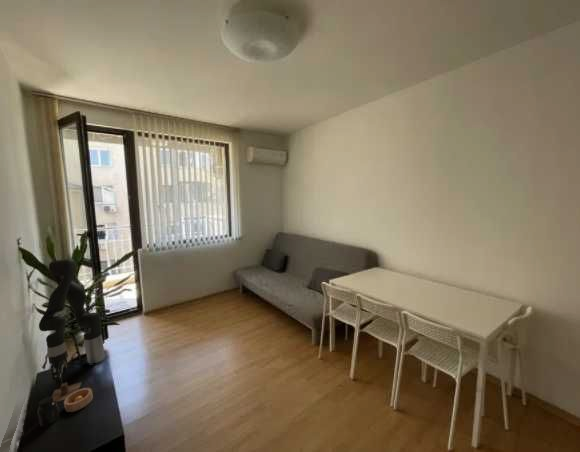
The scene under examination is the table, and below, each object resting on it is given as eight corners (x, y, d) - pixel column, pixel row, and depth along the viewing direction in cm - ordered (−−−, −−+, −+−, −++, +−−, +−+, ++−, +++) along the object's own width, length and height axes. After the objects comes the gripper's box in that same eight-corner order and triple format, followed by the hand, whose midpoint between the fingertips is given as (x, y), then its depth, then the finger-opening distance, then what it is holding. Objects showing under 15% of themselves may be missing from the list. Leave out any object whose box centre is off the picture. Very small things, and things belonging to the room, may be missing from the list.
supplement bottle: (56, 414, 126) (52, 392, 125) (62, 419, 123) (57, 397, 121) (38, 425, 120) (33, 402, 119) (43, 431, 117) (38, 408, 115)
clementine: (76, 401, 132) (74, 395, 132) (84, 399, 134) (83, 392, 133) (74, 406, 129) (72, 400, 128) (82, 403, 130) (81, 397, 130)
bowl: (69, 401, 134) (68, 393, 133) (94, 393, 139) (93, 385, 138) (62, 417, 124) (61, 408, 123) (90, 407, 129) (88, 398, 128)
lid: (55, 391, 141) (53, 381, 140) (81, 382, 147) (80, 373, 146) (46, 406, 131) (44, 396, 130) (76, 396, 136) (74, 387, 135)
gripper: (53, 347, 140) (57, 374, 142) (42, 361, 127) (47, 390, 129) (70, 343, 143) (74, 369, 145) (61, 356, 131) (66, 385, 133)
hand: (61, 379), depth 137 cm, fingers open, 8 cm apart
